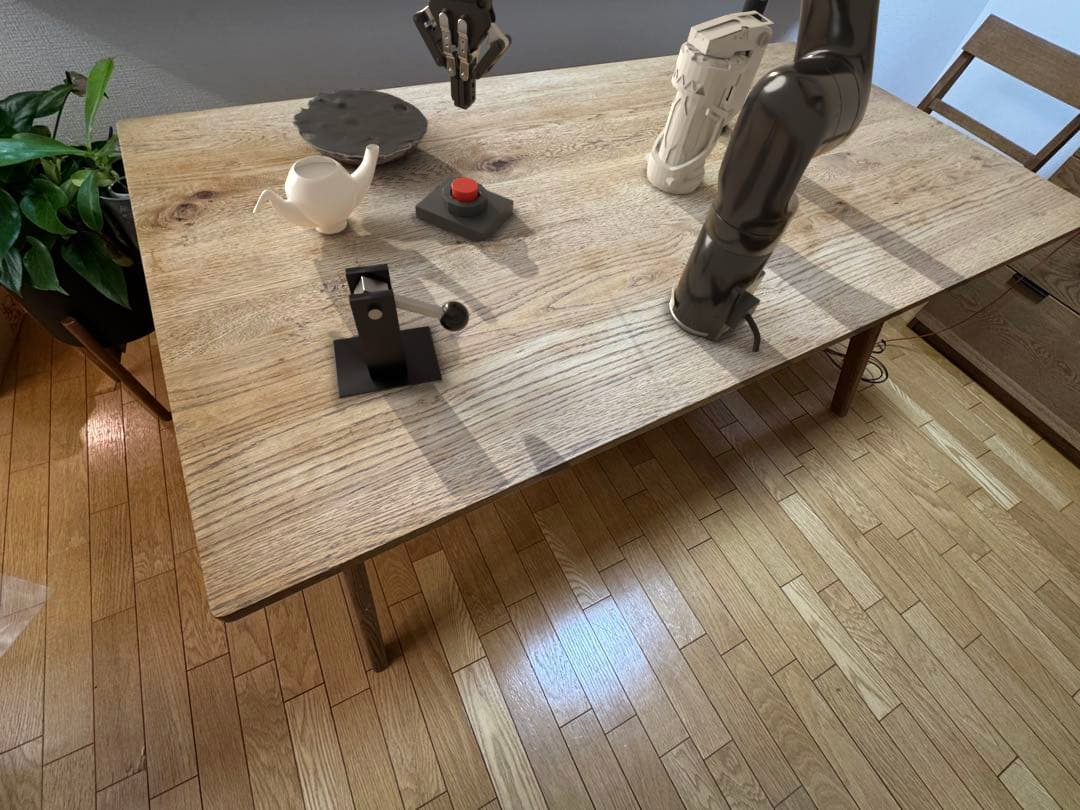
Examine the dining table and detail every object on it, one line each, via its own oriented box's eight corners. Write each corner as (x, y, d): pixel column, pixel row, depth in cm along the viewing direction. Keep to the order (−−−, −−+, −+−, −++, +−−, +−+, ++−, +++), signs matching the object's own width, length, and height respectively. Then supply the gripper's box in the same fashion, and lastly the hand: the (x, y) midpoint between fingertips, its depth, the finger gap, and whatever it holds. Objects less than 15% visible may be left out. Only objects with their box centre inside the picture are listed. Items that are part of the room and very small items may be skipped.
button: (482, 193, 81) (482, 183, 79) (469, 206, 78) (469, 195, 77) (460, 184, 81) (460, 174, 80) (447, 197, 79) (446, 186, 78)
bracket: (429, 331, 68) (419, 247, 57) (442, 385, 64) (435, 304, 52) (334, 346, 65) (304, 259, 54) (340, 403, 61) (309, 321, 49)
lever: (456, 319, 64) (471, 299, 62) (463, 340, 62) (477, 320, 60) (350, 291, 56) (363, 266, 54) (354, 315, 54) (367, 290, 52)
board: (417, 112, 99) (414, 84, 95) (442, 177, 88) (440, 148, 84) (296, 119, 94) (287, 89, 89) (305, 190, 82) (296, 159, 78)
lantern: (664, 199, 91) (718, 37, 71) (634, 167, 96) (677, 7, 76) (721, 187, 95) (789, 31, 75) (690, 157, 100) (745, 3, 80)
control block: (512, 212, 85) (514, 190, 81) (482, 245, 79) (482, 223, 76) (450, 187, 87) (449, 165, 83) (416, 218, 81) (413, 195, 78)
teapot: (252, 233, 75) (226, 174, 68) (369, 187, 85) (358, 130, 77) (286, 268, 72) (264, 210, 64) (404, 216, 81) (397, 160, 74)
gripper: (531, -55, 56) (520, 110, 70) (426, -86, 58) (436, 80, 72) (497, -39, 52) (492, 133, 66) (386, -72, 54) (405, 101, 68)
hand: (463, 105), depth 69 cm, fingers closed
